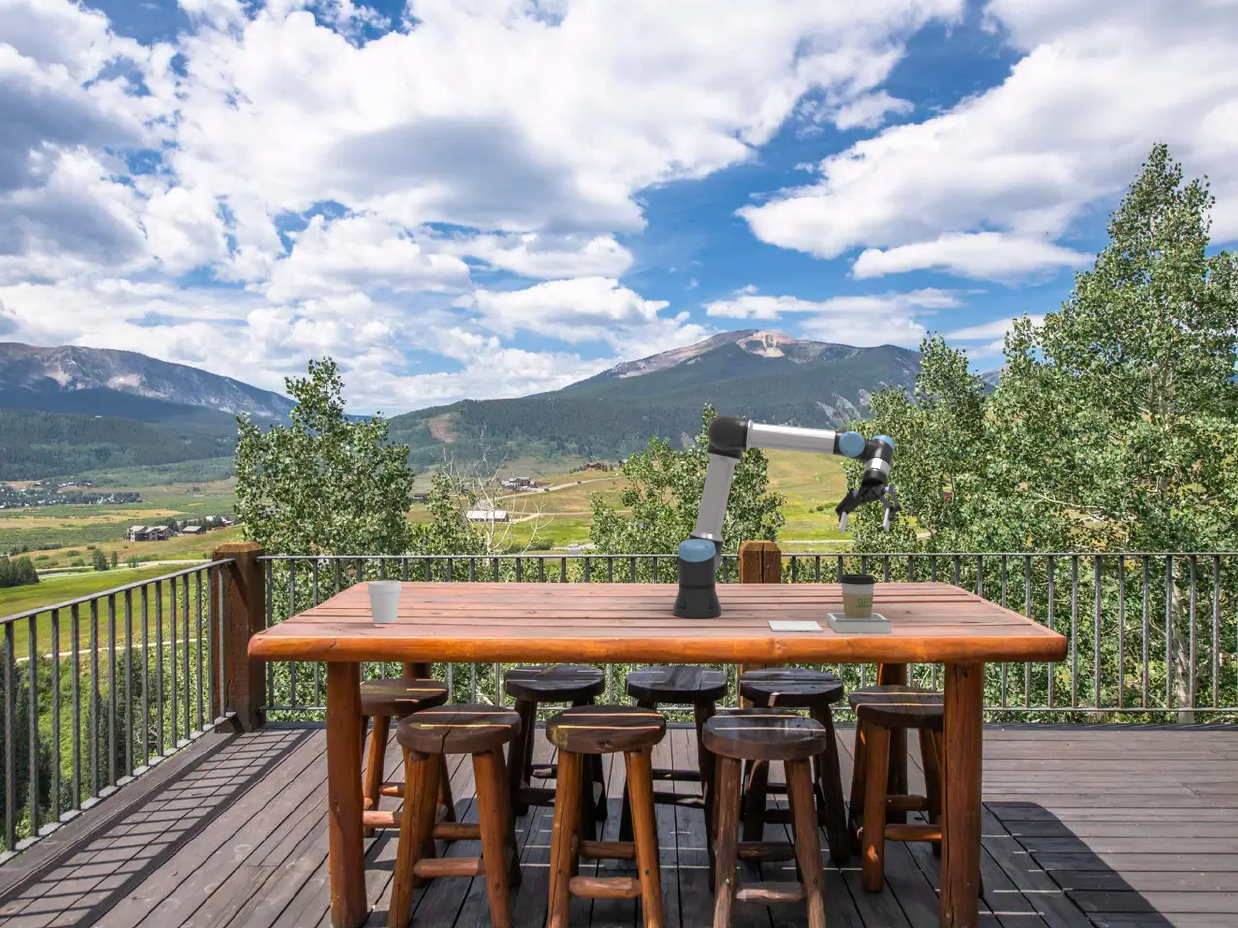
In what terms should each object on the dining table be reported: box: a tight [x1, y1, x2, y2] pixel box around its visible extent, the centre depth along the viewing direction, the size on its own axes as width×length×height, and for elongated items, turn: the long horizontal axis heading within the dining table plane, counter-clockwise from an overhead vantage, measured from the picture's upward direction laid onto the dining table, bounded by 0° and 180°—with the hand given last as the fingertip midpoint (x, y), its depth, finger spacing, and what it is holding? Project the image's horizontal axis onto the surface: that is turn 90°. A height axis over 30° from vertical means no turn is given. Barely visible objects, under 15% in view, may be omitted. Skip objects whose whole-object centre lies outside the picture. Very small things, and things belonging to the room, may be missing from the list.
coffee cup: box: [839, 573, 876, 619], centre depth 233 cm, size 10×10×15 cm
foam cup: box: [367, 579, 402, 623], centre depth 242 cm, size 10×9×13 cm
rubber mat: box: [767, 620, 824, 633], centre depth 235 cm, size 14×14×1 cm
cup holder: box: [826, 612, 892, 634], centre depth 233 cm, size 15×15×4 cm
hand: (863, 530), depth 241 cm, fingers open, 13 cm apart
